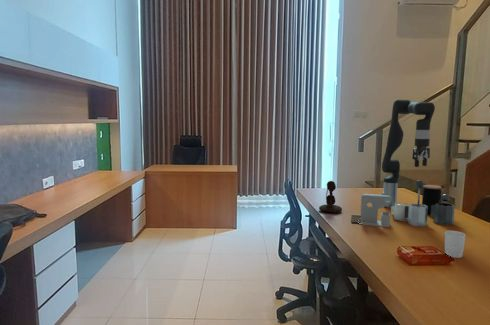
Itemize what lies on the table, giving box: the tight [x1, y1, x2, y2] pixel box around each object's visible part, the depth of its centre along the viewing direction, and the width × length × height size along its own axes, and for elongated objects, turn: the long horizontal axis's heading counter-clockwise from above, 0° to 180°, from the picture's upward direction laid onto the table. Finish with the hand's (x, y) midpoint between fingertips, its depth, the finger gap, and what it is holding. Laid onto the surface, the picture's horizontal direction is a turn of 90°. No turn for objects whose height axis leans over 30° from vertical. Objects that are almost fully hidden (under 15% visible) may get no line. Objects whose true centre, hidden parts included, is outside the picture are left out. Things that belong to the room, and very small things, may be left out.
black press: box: [430, 193, 456, 226], centre depth 208 cm, size 12×9×17 cm
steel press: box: [404, 203, 428, 227], centre depth 206 cm, size 12×9×11 cm
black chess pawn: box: [318, 180, 343, 215], centre depth 233 cm, size 15×15×20 cm
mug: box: [390, 202, 409, 222], centre depth 216 cm, size 10×8×9 cm
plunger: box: [414, 179, 425, 207], centre depth 203 cm, size 6×6×16 cm
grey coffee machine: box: [357, 193, 392, 228], centre depth 205 cm, size 17×10×18 cm, turn 70°
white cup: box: [444, 230, 467, 259], centre depth 156 cm, size 8×8×10 cm
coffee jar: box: [421, 184, 443, 216], centre depth 229 cm, size 11×11×18 cm
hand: (420, 166), depth 202 cm, fingers open, 8 cm apart
